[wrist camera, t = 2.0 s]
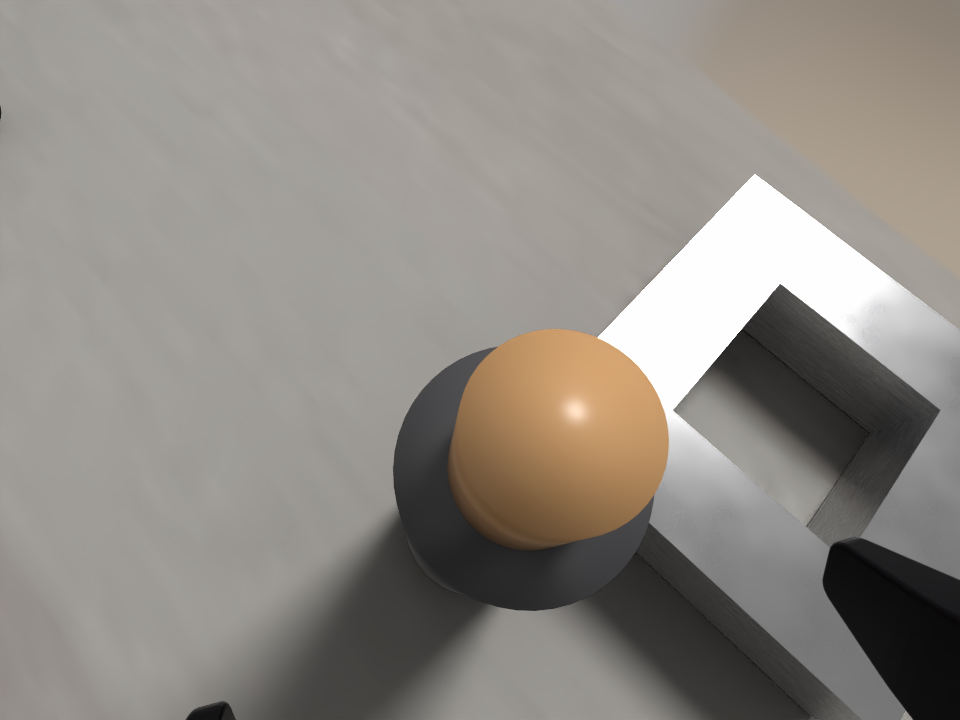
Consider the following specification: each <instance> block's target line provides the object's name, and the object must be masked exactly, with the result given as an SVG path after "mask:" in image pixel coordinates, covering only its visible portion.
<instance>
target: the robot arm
mask: <svg viewBox="0 0 960 720" xmlns="http://www.w3.org/2000/svg"><path fill="white" fill-rule="evenodd" d="M822 583H823V588H824V591H825V593H826V595H827V597H828V599H829V600H830V602H831V603H832V605H833V606H834V608H835V609H836V611H837V612H838V614H839V615H840V617H841V618H842V620H843V621H844V623H845V624H846V626H847V627H848V629H849V630H850V632H851V633H852V635H853V636H854V638H855V639H856V641H857V642H858V644H859V645H860V647H861V648H862V650H863V651H864V653H865V654H866V656H867V657H868V659H869V660H870V661H871V663H872V664H873V666H874V667H875V669H876V670H877V672H878V673H879V675H880V676H881V678H882V679H883V681H884V682H885V683H886V685H887V686H888V688H889V689H890V691H891V692H892V693H893V694H894V696H895V697H896V698H897V700H898V701H899V702H900V704H901V705H902V706H903V708H904V709H905V710H906V711H907V713H908V714H909V715H910V716H911V718H912V719H913V720H960V580H959V579H957V578H955V577H952V576H950V575H948V574H945V573H943V572H941V571H938V570H936V569H934V568H931V567H929V566H927V565H924V564H922V563H920V562H917V561H915V560H913V559H910V558H908V557H906V556H903V555H901V554H899V553H896V552H894V551H892V550H889V549H887V548H885V547H882V546H880V545H878V544H875V543H873V542H871V541H868V540H866V539H863V538H860V537H852V538H848V539H844V540H840V541H837V542H834V543H833V544H832V545H831V546H830V549H829V553H828V557H827V561H826V565H825V570H824V574H823V578H822ZM186 720H236V719H235V717H234V714H233V712H232V709H231V707H230V706H229V704H228V703H227V702H224V701H222V702H217V703H213V704H210V705H206V706H202V707H199V708H196V709H195V710H193V711H192V712H191V713H190V714H189V715H188V717H187V718H186Z"/></svg>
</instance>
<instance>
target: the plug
mask: <svg viewBox="0 0 960 720" xmlns="http://www.w3.org/2000/svg"><path fill="white" fill-rule="evenodd" d="M668 451H669V434H668V425H667V420H666V415H665V412H664V409H663V406H662V403H661V400H660V398H659V396H658V394H657V392H656V390H655V388H654V387H653V385H652V383H651V382H650V380H649V379H648V377H647V376H646V375H645V373H644V372H643V371H642V370H641V369H640V367H639V366H638V365H637V364H636V363H635V362H634V361H633V360H632V359H631V358H630V357H628V356H627V355H626V354H624V353H623V352H622V351H621V350H619V349H618V348H616V347H614V346H613V345H611V344H610V343H608V342H606V341H604V340H601V339H599V338H597V337H595V336H592V335H589V334H586V333H582V332H577V331H572V330H563V329H548V330H539V331H534V332H529V333H526V334H523V335H520V336H517V337H515V338H513V339H511V340H509V341H507V342H505V343H504V344H502V345H500V346H499V347H495V348H489V349H485V350H482V351H479V352H476V353H473V354H471V355H468V356H466V357H464V358H462V359H460V360H458V361H456V362H455V363H453V364H451V365H450V366H448V367H447V368H445V369H444V370H443V371H441V372H440V373H439V374H438V375H437V376H435V377H434V378H433V379H432V380H431V381H430V382H429V383H428V384H427V385H426V387H425V388H424V389H423V390H422V391H421V392H420V394H419V395H418V397H417V398H416V399H415V401H414V402H413V404H412V405H411V407H410V409H409V411H408V413H407V415H406V417H405V419H404V421H403V424H402V427H401V429H400V432H399V435H398V439H397V444H396V448H395V455H394V466H393V476H394V490H395V495H396V501H397V506H398V509H399V513H400V516H401V520H402V523H403V526H404V530H405V533H406V537H407V540H408V544H409V547H410V550H411V553H412V555H413V557H414V559H415V561H416V563H417V564H418V566H419V567H420V569H421V570H422V571H423V572H424V573H425V575H427V576H428V577H429V578H430V579H431V580H432V581H433V582H435V583H436V584H438V585H439V586H441V587H443V588H445V589H447V590H450V591H453V592H456V593H459V594H462V595H464V596H467V597H470V598H473V599H476V600H479V601H482V602H485V603H488V604H491V605H494V606H497V607H501V608H507V609H513V610H527V611H537V610H546V609H554V608H558V607H561V606H565V605H569V604H572V603H574V602H577V601H579V600H581V599H584V598H586V597H588V596H590V595H591V594H593V593H595V592H596V591H598V590H600V589H601V588H603V587H604V586H605V585H606V584H608V583H609V582H610V581H611V580H612V579H614V578H615V577H616V576H617V575H618V574H619V573H620V572H621V570H622V569H623V568H624V567H625V566H626V565H627V564H628V562H629V561H630V559H631V558H632V557H633V555H634V554H635V552H636V551H637V549H638V547H639V545H640V543H641V541H642V539H643V537H644V535H645V533H646V530H647V527H648V524H649V521H650V518H651V513H652V508H653V502H654V494H655V493H656V491H657V489H658V487H659V485H660V483H661V481H662V478H663V475H664V472H665V469H666V464H667V459H668Z"/></svg>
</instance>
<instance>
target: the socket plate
mask: <svg viewBox="0 0 960 720" xmlns="http://www.w3.org/2000/svg"><path fill="white" fill-rule="evenodd" d="M741 329H743V330H745V331H746V332H747V333H748V334H749V335H751V336H752V337H753V338H754V339H756V340H757V341H758V342H759V343H760V344H762V345H763V346H764V347H765V348H767V349H768V350H769V351H770V352H771V353H773V354H774V355H775V356H776V357H778V358H779V359H780V360H781V361H782V362H784V363H785V364H786V365H787V366H789V367H790V368H791V369H792V370H793V371H795V372H796V373H797V374H798V375H799V376H801V377H802V378H803V379H804V380H806V381H807V382H808V383H809V384H810V385H812V386H813V387H814V388H815V389H817V390H818V391H819V392H820V393H821V394H823V395H824V396H825V397H826V398H828V399H829V400H830V401H831V402H832V403H834V404H835V405H836V406H837V407H838V408H840V409H841V410H842V411H843V412H845V413H846V414H847V415H848V416H849V417H851V418H852V419H853V420H854V421H856V422H857V423H858V424H859V425H860V426H862V427H863V428H864V429H865V430H867V431H868V432H869V433H870V434H869V436H868V437H867V438H866V440H865V441H864V443H863V444H862V446H861V447H860V449H859V450H858V452H857V453H856V455H855V456H854V458H853V459H852V461H851V462H850V464H849V465H848V467H847V468H846V470H845V471H844V473H843V474H842V475H841V477H840V478H839V480H838V481H837V483H836V484H835V486H834V487H833V489H832V490H831V492H830V493H829V495H828V496H827V498H826V499H825V501H824V502H823V504H822V505H821V507H820V508H819V509H818V511H817V512H816V514H815V515H814V517H813V518H812V520H811V521H810V523H809V524H808V526H807V527H805V526H804V525H803V524H802V523H801V522H800V521H799V520H797V519H796V518H795V517H794V516H793V515H792V514H791V513H789V512H788V511H787V510H786V509H785V508H784V507H783V506H781V505H780V504H779V503H778V502H777V501H776V500H775V499H773V498H772V497H771V496H770V495H769V494H768V493H767V492H765V491H764V490H763V489H762V488H761V487H760V486H759V485H757V484H756V483H755V482H754V481H753V480H752V479H751V478H749V477H748V476H747V475H746V474H745V473H744V472H743V471H741V470H740V469H739V468H738V467H737V466H736V465H735V464H733V463H732V462H731V461H730V460H729V459H728V458H727V457H725V456H724V455H723V454H722V453H721V452H720V451H718V450H717V449H716V448H715V447H714V446H713V445H712V444H710V443H709V442H708V441H707V440H706V439H705V438H704V437H702V436H701V435H700V434H699V433H698V432H697V431H696V430H694V429H693V428H692V427H691V426H690V425H689V424H688V423H686V422H685V421H684V420H683V419H682V418H681V417H680V416H678V415H677V414H676V413H675V412H674V411H673V409H674V408H675V407H676V406H677V405H678V403H679V402H680V401H681V400H682V399H683V397H684V396H685V395H686V394H687V393H688V392H689V390H690V389H691V388H692V387H693V386H694V384H695V383H696V382H697V381H698V380H699V379H700V377H701V376H702V375H703V374H704V373H705V371H706V370H707V369H708V368H709V367H710V366H711V364H712V363H713V362H714V361H715V360H716V358H717V357H718V356H719V355H720V354H721V353H722V351H723V350H724V349H725V348H726V347H727V345H728V344H729V343H730V342H731V341H732V340H733V338H734V337H735V336H736V335H737V334H738V332H739V331H740V330H741ZM598 338H599V339H601V340H604V341H606V342H608V343H610V344H611V345H613V346H614V347H616V348H618V349H619V350H621V351H622V352H623V353H624V354H626V355H627V356H628V357H630V358H631V359H632V360H633V361H634V362H635V363H636V364H637V365H638V366H639V367H640V369H641V370H642V371H643V372H644V373H645V375H646V376H647V377H648V379H649V380H650V382H651V383H652V385H653V387H654V388H655V390H656V392H657V394H658V396H659V398H660V400H661V403H662V406H663V409H664V412H665V415H666V420H667V425H668V434H669V451H668V459H667V464H666V469H665V472H664V475H663V478H662V481H661V483H660V485H659V487H658V489H657V491H656V493H655V494H654V502H653V508H652V513H651V518H650V521H649V524H648V527H647V530H646V533H645V535H644V537H643V539H642V541H641V543H640V545H639V547H638V549H637V551H636V552H637V553H638V554H639V555H640V556H641V557H642V558H643V559H644V560H645V561H646V562H647V563H648V564H650V565H651V566H652V567H653V568H654V569H655V570H656V571H657V572H658V573H659V574H660V575H661V576H662V577H663V578H664V579H665V580H667V581H668V582H669V583H670V584H671V585H672V586H673V587H674V588H675V589H676V590H677V591H678V592H679V593H680V594H681V595H682V596H684V597H685V598H686V599H687V600H688V601H689V602H690V603H691V604H692V605H693V606H694V607H695V608H696V609H697V610H698V611H699V612H701V613H702V614H703V615H704V616H705V617H706V618H707V619H708V620H709V621H710V622H711V623H712V624H713V625H714V626H715V627H716V628H718V629H719V630H720V631H721V632H722V633H723V634H724V635H725V636H726V637H727V638H728V639H729V640H730V641H731V642H732V643H733V644H735V645H736V646H737V647H738V648H739V649H740V650H741V651H742V652H743V653H744V654H745V655H746V656H747V657H748V658H749V659H750V660H752V661H753V662H754V663H755V664H756V665H757V666H758V667H759V668H760V669H761V670H762V671H763V672H764V673H765V674H766V675H767V676H769V677H770V678H771V679H772V680H773V681H774V682H775V683H776V684H777V685H778V686H779V687H780V688H781V689H782V690H783V691H784V692H786V693H787V694H788V695H789V696H790V697H791V698H792V699H793V700H794V701H795V702H796V703H797V704H798V705H799V706H800V707H801V708H803V709H804V710H805V711H806V712H807V713H808V714H809V715H810V716H811V717H813V718H816V719H819V720H901V718H902V716H903V714H904V712H905V709H904V708H903V706H902V705H901V704H900V702H899V701H898V700H897V698H896V697H895V696H894V694H893V693H892V692H891V691H890V689H889V688H888V686H887V685H886V683H885V682H884V681H883V679H882V678H881V676H880V675H879V673H878V672H877V670H876V669H875V667H874V666H873V664H872V663H871V661H870V660H869V659H868V657H867V656H866V654H865V653H864V651H863V650H862V648H861V647H860V645H859V644H858V642H857V641H856V639H855V638H854V636H853V635H852V633H851V632H850V630H849V629H848V627H847V626H846V624H845V623H844V621H843V620H842V618H841V617H840V615H839V614H838V612H837V611H836V609H835V608H834V606H833V605H832V603H831V602H830V600H829V599H828V597H827V595H826V593H825V591H824V588H823V583H822V578H823V574H824V570H825V565H826V561H827V557H828V553H829V549H830V546H831V545H832V544H833V543H834V542H837V541H840V540H844V539H848V538H852V537H860V538H863V539H866V540H868V541H871V542H873V543H875V544H878V545H880V546H882V547H885V548H887V549H889V550H892V551H894V552H896V553H899V554H901V555H903V556H906V557H908V558H910V559H913V560H915V561H917V562H920V563H922V564H924V565H927V566H929V567H931V568H934V569H936V570H938V571H941V572H943V573H945V574H948V575H950V576H952V577H955V578H957V579H959V580H960V330H959V329H958V328H957V327H955V326H954V325H953V324H951V323H950V322H949V321H947V320H946V319H945V318H943V317H942V316H941V315H939V314H938V313H937V312H935V311H934V310H933V309H932V308H930V307H929V306H928V305H926V304H925V303H924V302H922V301H921V300H920V299H918V298H917V297H916V296H914V295H913V294H912V293H910V292H909V291H908V290H906V289H905V288H904V287H903V286H901V285H900V284H899V283H897V282H896V281H895V280H893V279H892V278H891V277H889V276H888V275H887V274H885V273H884V272H883V271H881V270H880V269H879V268H878V267H876V266H875V265H874V264H872V263H871V262H870V261H868V260H867V259H866V258H864V257H863V256H862V255H860V254H859V253H858V252H856V251H855V250H854V249H852V248H851V247H850V246H849V245H847V244H846V243H845V242H843V241H842V240H841V239H839V238H838V237H837V236H835V235H834V234H833V233H831V232H830V231H829V230H827V229H826V228H825V227H823V226H822V225H821V224H820V223H818V222H817V221H816V220H814V219H813V218H812V217H810V216H809V215H808V214H806V213H805V212H804V211H802V210H801V209H800V208H798V207H797V206H796V205H794V204H793V203H792V202H791V201H789V200H788V199H787V198H785V197H784V196H783V195H781V194H780V193H779V192H777V191H776V190H775V189H773V188H772V187H771V186H769V185H768V184H767V183H766V182H764V181H763V180H762V179H760V178H759V177H758V176H756V175H754V176H753V177H752V178H751V179H750V180H749V181H748V182H747V183H746V184H745V185H744V186H743V187H742V188H741V189H740V190H739V191H738V193H737V194H736V195H735V196H734V197H733V198H732V199H731V200H730V201H729V202H728V203H727V204H726V205H725V206H724V207H723V208H722V209H721V210H720V211H719V212H718V213H717V214H716V215H715V216H714V217H713V219H712V220H711V221H710V222H709V223H708V224H707V225H706V226H705V227H704V228H703V229H702V230H701V231H700V232H699V233H698V234H697V235H696V236H695V237H694V238H693V239H692V240H691V241H690V242H689V243H688V245H687V246H686V247H685V248H684V249H683V250H682V251H681V252H680V253H679V254H678V255H677V256H676V257H675V258H674V259H673V260H672V261H671V262H670V263H669V264H668V265H667V266H666V267H665V268H664V270H663V271H662V272H661V273H660V274H659V275H658V276H657V277H656V278H655V279H654V280H653V281H652V282H651V283H650V284H649V285H648V286H647V287H646V288H645V289H644V290H643V291H642V292H641V293H640V294H639V296H638V297H637V298H636V299H635V300H634V301H633V302H632V303H631V304H630V305H629V306H628V307H627V308H626V309H625V310H624V311H623V312H622V313H621V314H620V315H619V316H618V317H617V318H616V319H615V320H614V322H613V323H612V324H611V325H610V326H609V327H608V328H607V329H606V330H605V331H604V332H603V333H602V334H601V335H600V336H599V337H598Z"/></svg>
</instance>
